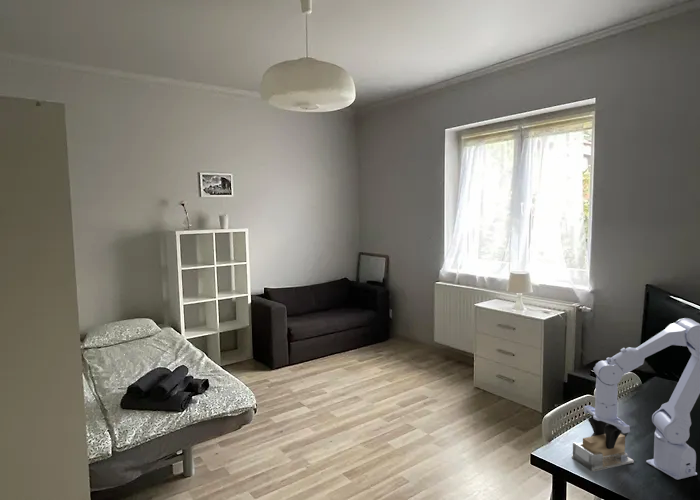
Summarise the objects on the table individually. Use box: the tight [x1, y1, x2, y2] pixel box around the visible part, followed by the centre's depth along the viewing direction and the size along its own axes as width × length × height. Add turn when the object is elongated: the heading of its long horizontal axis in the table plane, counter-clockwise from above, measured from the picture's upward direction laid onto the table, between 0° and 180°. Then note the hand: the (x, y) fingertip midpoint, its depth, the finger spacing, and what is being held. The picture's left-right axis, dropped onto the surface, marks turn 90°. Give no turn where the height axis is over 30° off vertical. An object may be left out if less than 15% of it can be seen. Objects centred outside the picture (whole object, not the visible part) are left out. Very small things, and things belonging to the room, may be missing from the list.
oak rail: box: [582, 434, 626, 457], centre depth 132 cm, size 13×3×5 cm, turn 106°
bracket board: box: [571, 441, 634, 473], centre depth 131 cm, size 15×8×5 cm, turn 106°
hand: (604, 444), depth 132 cm, fingers open, 3 cm apart
